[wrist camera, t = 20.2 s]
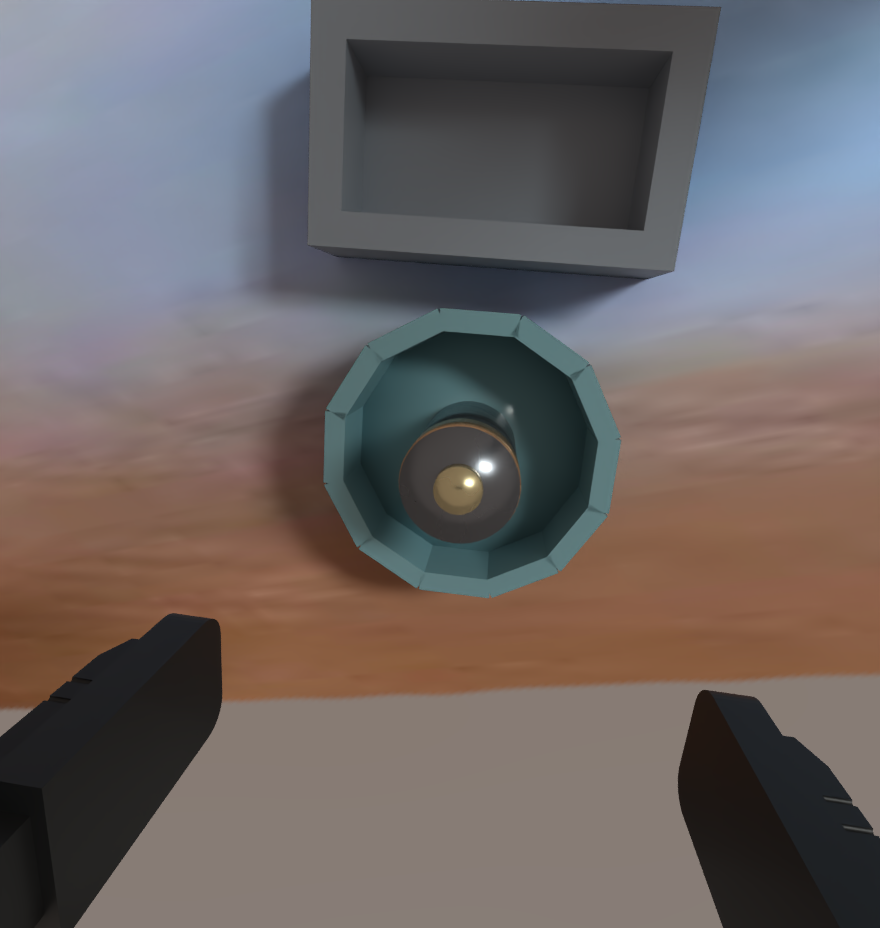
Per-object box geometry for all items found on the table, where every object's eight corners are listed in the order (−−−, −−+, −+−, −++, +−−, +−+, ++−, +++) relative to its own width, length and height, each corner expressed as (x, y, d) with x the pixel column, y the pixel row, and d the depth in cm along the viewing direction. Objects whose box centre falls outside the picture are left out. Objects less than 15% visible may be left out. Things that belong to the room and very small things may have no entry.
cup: (353, 302, 29) (327, 298, 25) (619, 323, 28) (640, 324, 24) (344, 543, 33) (321, 577, 29) (580, 571, 32) (592, 611, 28)
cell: (424, 396, 29) (397, 424, 22) (520, 403, 29) (528, 434, 21) (419, 487, 31) (392, 544, 23) (511, 495, 30) (515, 556, 22)
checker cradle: (342, 47, 26) (311, -6, 22) (683, 61, 25) (721, 6, 21) (336, 256, 29) (307, 244, 25) (647, 279, 28) (673, 271, 23)
